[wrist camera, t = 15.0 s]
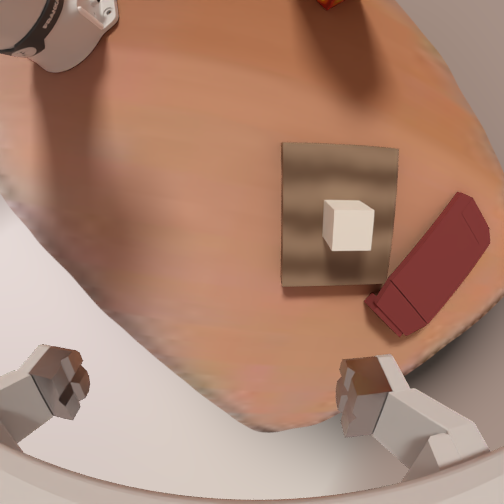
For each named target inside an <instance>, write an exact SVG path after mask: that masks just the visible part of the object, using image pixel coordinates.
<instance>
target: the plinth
mask: <svg viewBox="0 0 504 504" xmlns="http://www.w3.org/2000/svg"><path fill="white" fill-rule="evenodd" d="M398 156H399V149H395V148H386V147H374V146H361V145H345V144H324V143H281V162H282V213H281V283H282V287H291V286H332V285H361V284H385V282H386V280H387V273H388V267H389V260H390V252H391V244H392V236H393V227H394V217H395V206H396V193H397V178H398ZM324 200H359V201H361V202H363V203H364V204H366V205H367V206H369V207H370V208H372V209H373V210H375V211H374V224H373V234H372V244H371V251H332V250H331V249H330V247H329V245H328V244H327V242H326V241H325V239H324V238H323V236H322V235H323V213H324Z"/></svg>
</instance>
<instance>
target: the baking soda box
mask: <svg viewBox="0 0 504 504" xmlns="http://www.w3.org/2000/svg"><path fill="white" fill-rule="evenodd" d="M317 1H318V2H319V3H320V4H321V5H322V6H323V7H324V8H325V9H326V10H329V9H330V8H332V7H334V6H336V5H337V4H339V3H341V2H343V1H345V0H317Z"/></svg>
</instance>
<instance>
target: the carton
mask: <svg viewBox="0 0 504 504" xmlns="http://www.w3.org/2000/svg"><path fill="white" fill-rule="evenodd" d="M489 244H490V233H489V227H488V225H487V223H486V221H485V219H484V217H483V216H482V214H481V212H480V210H479V208H478V206H477V205H476V203H475V201H474V199H473V198H472V197H470V196H468V195H466V194H463V193H460V192H457V193H456V194H455V196H454V197H453V198H452V200H451V201H450V202H449V204H448V205H447V206H446V208H445V209H444V210H443V212H442V213H441V214H440V216H439V217H438V218H437V220H436V221H435V222H434V223H433V225H432V226H431V227H430V229H429V230H428V231H427V232H426V234H425V235H424V236H423V237H422V239H421V240H420V241H419V242H418V243H417V245H416V246H415V247H414V248H413V249H412V251H411V252H410V253H409V254H408V255H407V257H406V258H405V259H404V260H403V261H402V263H401V264H400V265H399V266H398V267H397V268H396V269H395V271H394V272H393V273H392V274H391V275H390V276H389V277H388V279H387V281H386V282H385V284H384V285H383V287H382V288H381V290H380V292H379V293H378V295H377V296H376V295H375V294H373V293H371V294H370V295H369V296H368V297H367V298H366V299H365V300H364V302H365V303H366V304H367V305H368V306H369V307H370V308H371V309H372V310H373V311H374V312H375V313H376V314H377V315H378V316H379V317H380V318H381V319H382V320H383V321H384V322H385V323H386V324H387V326H388V327H389V328H390V329H391V330H392V331H393V332H395V333H396V334H397V335H398V336H399V337H400V336H401V335H402V334H404V335H405V336H407V335H409V334H411V333H413V332H415V331H417V330H419V329H420V328H422V327H424V326H426V325H427V324H428V323H429V322H430V321H431V320H432V319H433V317H434V316H435V315H436V314H437V313H438V312H439V310H440V309H441V308H442V307H443V306H444V304H445V303H446V302H447V301H448V300H449V298H450V297H451V296H452V295H453V293H454V292H455V291H456V290H457V288H458V287H459V286H460V284H461V283H462V282H463V281H464V279H465V278H466V277H467V275H468V274H469V273H470V271H471V270H472V268H473V267H474V266H475V264H476V263H477V262H478V260H479V259H480V257H481V256H482V254H483V253H484V252H485V250H486V249H487V247H488V246H489ZM426 323H427V324H426Z"/></svg>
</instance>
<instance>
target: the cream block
mask: <svg viewBox="0 0 504 504" xmlns="http://www.w3.org/2000/svg"><path fill="white" fill-rule="evenodd" d="M374 211H375V210H373V209H372V208H370V207H369V206H367V205H366V204H364V203H363V202H361V201H359V200H324V213H323V235H322V236H323V238H324V239H325V241H326V242H327V244H328V245H329V247H330V249H331V250H332V251H371V244H372V234H373V224H374Z"/></svg>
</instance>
